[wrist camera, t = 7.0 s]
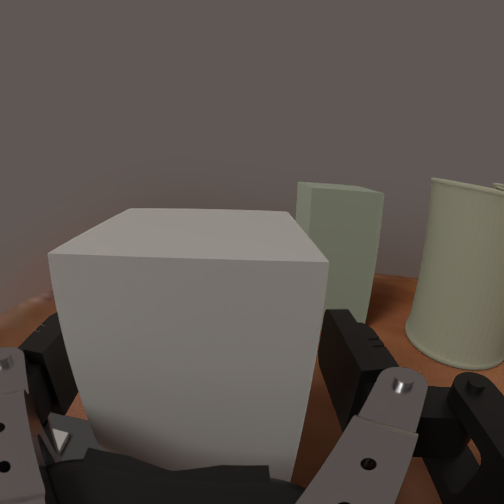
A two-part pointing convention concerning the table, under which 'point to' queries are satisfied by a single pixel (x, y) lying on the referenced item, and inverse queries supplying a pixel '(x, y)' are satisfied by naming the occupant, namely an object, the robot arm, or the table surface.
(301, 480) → the table surface
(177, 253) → the grey block
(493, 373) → the table surface
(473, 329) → the can
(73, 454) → the card
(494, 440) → the robot arm
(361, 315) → the sage block
